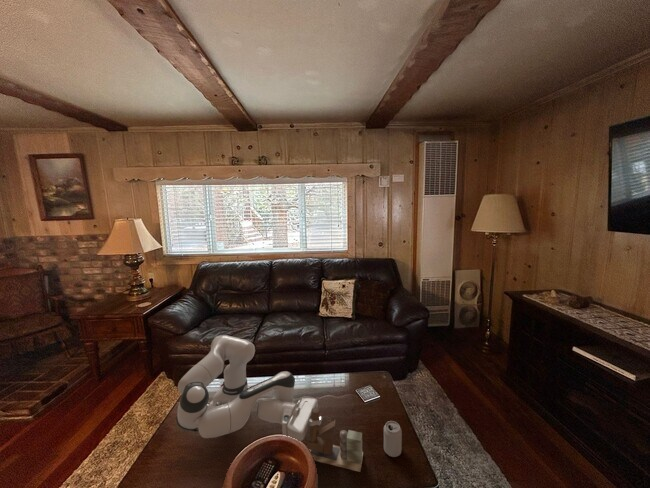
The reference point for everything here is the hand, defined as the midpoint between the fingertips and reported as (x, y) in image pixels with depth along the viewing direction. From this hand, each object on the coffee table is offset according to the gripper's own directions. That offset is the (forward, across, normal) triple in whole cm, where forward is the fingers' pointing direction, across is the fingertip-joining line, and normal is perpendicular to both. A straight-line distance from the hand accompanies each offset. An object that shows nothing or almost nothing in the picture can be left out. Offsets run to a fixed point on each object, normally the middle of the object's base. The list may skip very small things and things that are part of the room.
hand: (321, 421), depth 112 cm
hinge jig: (+5, -1, -16) cm, 17 cm away
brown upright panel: (-1, 0, -14) cm, 14 cm away
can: (+29, -10, -17) cm, 35 cm away
